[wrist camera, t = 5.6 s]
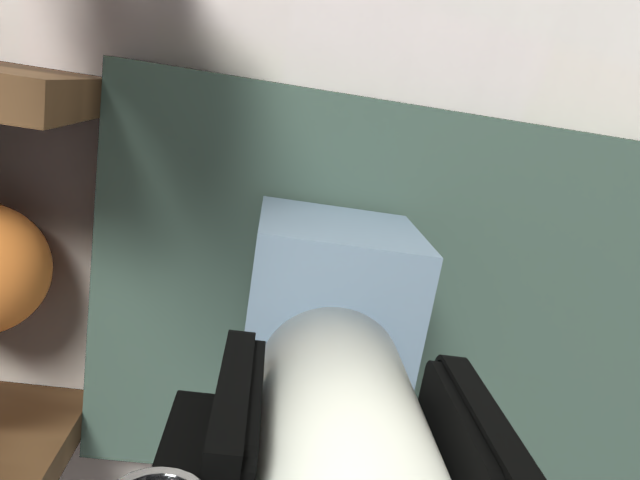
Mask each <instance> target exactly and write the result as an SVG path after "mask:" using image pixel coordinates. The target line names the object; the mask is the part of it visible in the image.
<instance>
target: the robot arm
mask: <svg viewBox="0 0 640 480" xmlns="http://www.w3.org/2000/svg"><path fill="white" fill-rule="evenodd" d="M255 336H256V333H255V332H246V331H238V330H229V331H228V335H227V340H226V345H225V349H224V354H223V359H222V363H221V368H220V373H219V377H218V382H217V387H216V392H215V394H212V393H202V392H193V391H184V390H178V391H177V393H176V396H175V399H174V402H173V405H172V408H171V411H170V414H169V417H168V420H167V423H166V426H165V429H164V431H163V434H162V437H161V440H160V443H159V446H158V449H157V452H156V455H155V458H154V461H153V464H152V467H150V468H144V469H140V470H137V471H133V472H130V473H129V474H127V475H125V476H123V477H121V478H119V479H118V480H255V478H256V471H257V463H258V453H259V440H260V424H261V408H262V393H263V377H264V361H265V345H266V341H261V340H255ZM418 401H419V404H420V406H421V408H422V411H423V413H424V416H425V418H426V420H427V423H428V425H429V427H430V430H431V432H432V435H433V437H434V439H435V442H436V444H437V447H438V449H439V451H440V454H441V456H442V458H443V461H444V463H445V466H446V468H447V470H448V473H449V475H450V478H451V480H547V479H546V477H545V476H544V474H543V473H542V471H541V470H540V468H539V467H538V465H537V464H536V462H535V461H534V459H533V458H532V456H531V455H530V453H529V452H528V450H527V448H526V447H525V445H524V444H523V442H522V441H521V439H520V438H519V436H518V435H517V433H516V432H515V430H514V429H513V427H512V426H511V424H510V422H509V421H508V419H507V418H506V416H505V415H504V413H503V412H502V410H501V409H500V407H499V406H498V404H497V403H496V401H495V400H494V398H493V396H492V395H491V393H490V392H489V390H488V389H487V387H486V386H485V384H484V383H483V381H482V380H481V378H480V377H479V375H478V374H477V372H476V370H475V369H474V367H473V366H472V364H471V363H470V361H469V360H468V359H467V358H466V357H458V356H449V355H438V356H437V357H436V359H435V361H432V360H429V361H428V362H427V363H426V366H425V370H424V374H423V379H422V383H421V388H420V392H419V397H418Z"/></svg>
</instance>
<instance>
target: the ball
mask: <svg viewBox="0 0 640 480" xmlns="http://www.w3.org/2000/svg"><path fill="white" fill-rule="evenodd" d="M52 273H53V260H52V255H51V251H50V248H49V245H48V243H47V241H46V239H45V237H44V235H43V234H42V233H41V231H40V230H39V229H38V227H37V226H36V225H35V224H34V223H33V222H31V221H30V220H29V219H28V218H27V217H25V216H24V215H22V214H21V213H19V212H17V211H15V210H13V209H11V208H9V207H6V206H3V205H0V332H2V331H5V330H8V329H10V328H12V327H14V326H16V325H18V324H19V323H21V322H22V321H24V320H25V319H26V318H28V317H29V316H30V315H31V314H32V313H33V312H34V311H35V310H36V309H37V308H38V307H39V305H40V304H41V303H42V301H43V300H44V298H45V296H46V294H47V292H48V290H49V287H50V284H51V280H52Z"/></svg>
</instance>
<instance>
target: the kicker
mask: <svg viewBox="0 0 640 480" xmlns="http://www.w3.org/2000/svg"><path fill="white" fill-rule="evenodd" d="M442 263H443V257H442V256H441V255H440V254H439V253H438V252H437V251H436V249H435V248H434V247H433V246H432V245H431V244H430V243H429V242H428V240H427V239H426V238H425V237H424V236H423V235H422V234H421V232H420V231H419V230H418V229H417V228H416V227H415V226H414V225H413V223H412V222H411V221H410V220H409V219H408V218H407V217H406V216H402V215H395V214H388V213H381V212H374V211H367V210H360V209H353V208H346V207H339V206H332V205H325V204H317V203H310V202H303V201H296V200H289V199H282V198H275V197H268V196H263V202H262V208H261V215H260V221H259V227H258V233H257V241H256V248H255V256H254V263H253V271H252V278H251V286H250V293H249V301H248V308H247V316H246V323H245V331H246V332H255V333H256V336H255V340H261V341H266V345H265V361H264V377H263V393H262V408H261V424H260V440H259V453H258V463H257V471H256V478H255V480H451V478H450V475H449V473H448V470H447V468H446V466H445V463H444V461H443V458H442V456H441V454H440V451H439V449H438V447H437V444H436V442H435V439H434V437H433V435H432V432H431V430H430V427H429V425H428V423H427V420H426V418H425V416H424V413H423V411H422V408H421V406H420V404H419V401H418V399H417V396H416V394H415V392H414V390H415V386H416V381H417V376H418V372H419V367H420V363H421V358H422V354H423V349H424V345H425V340H426V335H427V331H428V326H429V322H430V317H431V313H432V308H433V304H434V299H435V294H436V290H437V285H438V281H439V276H440V272H441V267H442Z"/></svg>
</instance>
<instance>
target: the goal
mask: <svg viewBox="0 0 640 480" xmlns="http://www.w3.org/2000/svg"><path fill="white" fill-rule="evenodd" d="M101 88H102V77H99V76H93V75H86V74H80V73H74V72H67V71H61V70H54V69H48V68H42V67H35V66H29V65H23V64H16V63H10V62H3V61H0V124H2V125H9V126H16V127H23V128H29V129H36V130H43V131H44V130H49V129H53V128H57V127H62V126H66V125H71V124H75V123H79V122H84V121H88V120H93V119H97V118H100V105H101ZM83 392H84V390H80V389H70V388H61V387H51V386H42V385H32V384H23V383H13V382H4V381H0V480H59V478H60V477H61V475H62V473H63V471H64V469H65V467H66V466H67V464H68V462H69V460H70V458H71V457H72V455H73V453H74V451H75V449H76V448H77V446H78V444H79V442H80V440H81V426H82V409H83Z"/></svg>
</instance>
